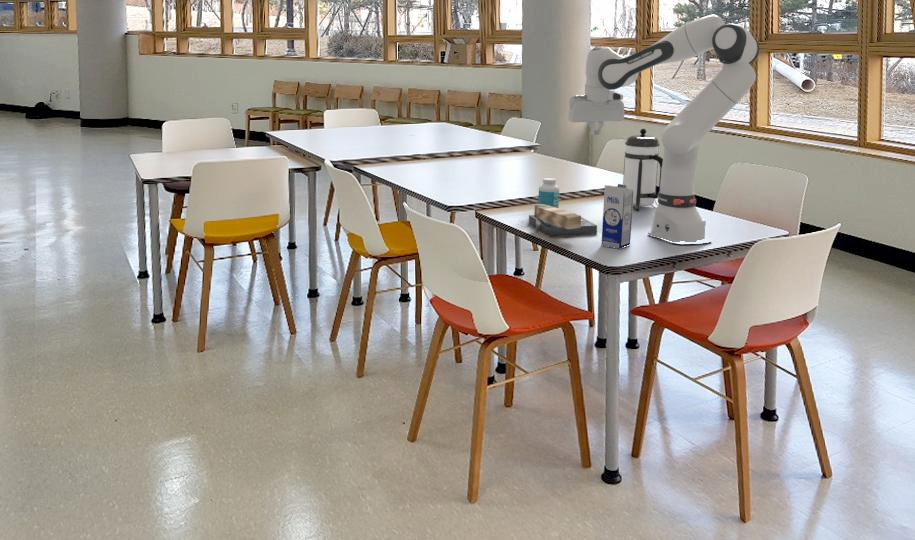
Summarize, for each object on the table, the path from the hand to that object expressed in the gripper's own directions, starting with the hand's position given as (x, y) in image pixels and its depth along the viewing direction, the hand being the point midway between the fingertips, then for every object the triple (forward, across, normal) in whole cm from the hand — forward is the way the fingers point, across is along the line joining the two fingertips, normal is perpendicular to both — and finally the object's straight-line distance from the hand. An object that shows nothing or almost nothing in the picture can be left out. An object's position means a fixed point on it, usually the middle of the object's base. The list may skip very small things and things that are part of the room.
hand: (595, 134), depth 336 cm
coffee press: (+31, +27, +13) cm, 43 cm away
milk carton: (+31, -9, -38) cm, 50 cm away
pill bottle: (+30, -13, +9) cm, 34 cm away
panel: (+30, -17, -12) cm, 37 cm away
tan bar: (+26, -23, -20) cm, 40 cm away
